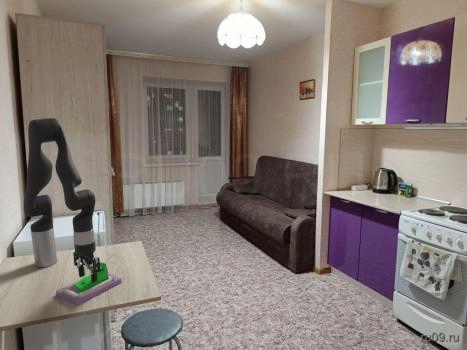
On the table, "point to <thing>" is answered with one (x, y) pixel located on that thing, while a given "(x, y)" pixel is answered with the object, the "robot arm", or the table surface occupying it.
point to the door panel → (78, 297)
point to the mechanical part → (87, 282)
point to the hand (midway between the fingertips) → (88, 279)
